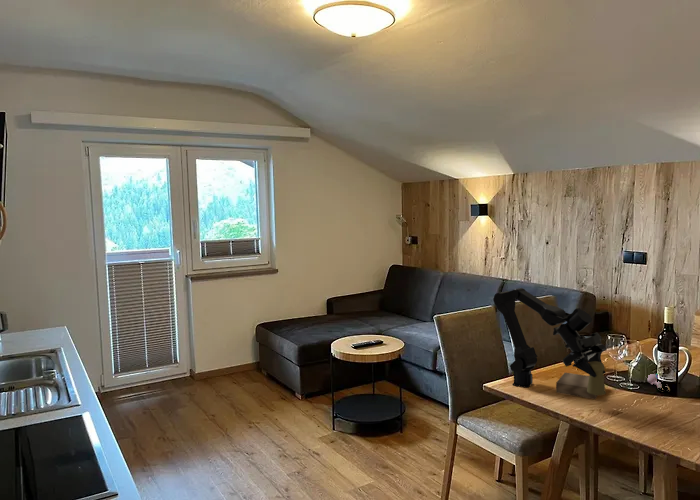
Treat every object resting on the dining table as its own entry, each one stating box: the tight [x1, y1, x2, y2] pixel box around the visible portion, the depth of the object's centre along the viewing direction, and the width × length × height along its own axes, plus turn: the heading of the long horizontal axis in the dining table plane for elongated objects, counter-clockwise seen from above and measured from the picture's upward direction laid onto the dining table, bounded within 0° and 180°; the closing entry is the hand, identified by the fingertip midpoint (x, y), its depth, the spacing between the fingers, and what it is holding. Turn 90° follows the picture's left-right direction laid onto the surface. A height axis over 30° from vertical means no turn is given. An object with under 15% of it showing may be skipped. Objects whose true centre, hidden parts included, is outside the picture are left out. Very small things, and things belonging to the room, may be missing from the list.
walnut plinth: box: [555, 372, 599, 400], centre depth 203 cm, size 14×14×4 cm
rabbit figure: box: [646, 372, 671, 391], centre depth 205 cm, size 6×6×15 cm
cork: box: [587, 361, 607, 396], centre depth 184 cm, size 6×6×11 cm
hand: (600, 375), depth 182 cm, fingers closed on cork, 5 cm apart
